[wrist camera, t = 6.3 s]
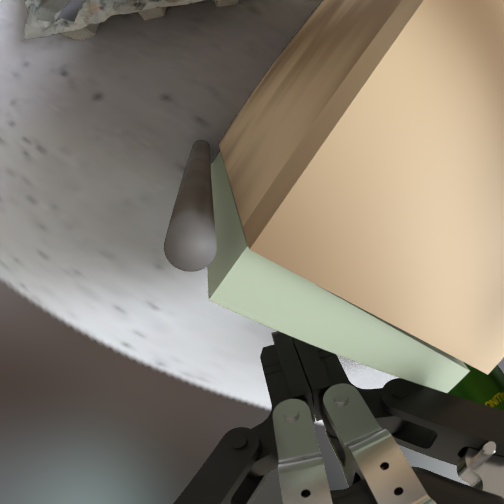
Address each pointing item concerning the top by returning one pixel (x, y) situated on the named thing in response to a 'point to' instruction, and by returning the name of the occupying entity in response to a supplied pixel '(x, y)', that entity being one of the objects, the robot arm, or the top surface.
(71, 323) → the top surface
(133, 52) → the top surface
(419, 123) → the cupboard
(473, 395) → the beer can
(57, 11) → the egg carton
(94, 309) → the top surface
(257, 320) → the door
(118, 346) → the top surface
